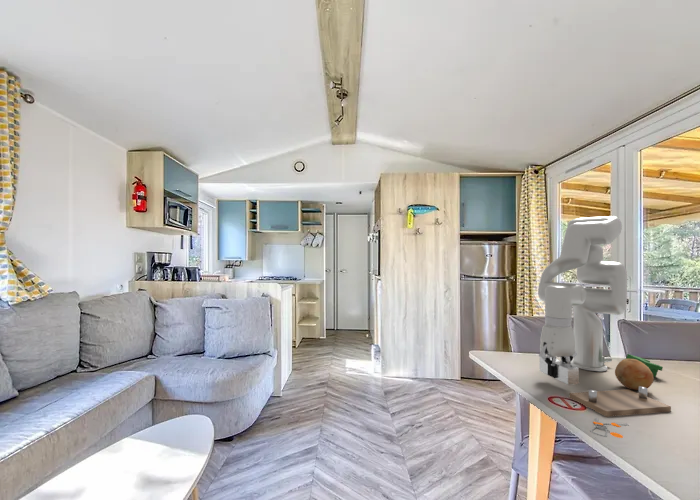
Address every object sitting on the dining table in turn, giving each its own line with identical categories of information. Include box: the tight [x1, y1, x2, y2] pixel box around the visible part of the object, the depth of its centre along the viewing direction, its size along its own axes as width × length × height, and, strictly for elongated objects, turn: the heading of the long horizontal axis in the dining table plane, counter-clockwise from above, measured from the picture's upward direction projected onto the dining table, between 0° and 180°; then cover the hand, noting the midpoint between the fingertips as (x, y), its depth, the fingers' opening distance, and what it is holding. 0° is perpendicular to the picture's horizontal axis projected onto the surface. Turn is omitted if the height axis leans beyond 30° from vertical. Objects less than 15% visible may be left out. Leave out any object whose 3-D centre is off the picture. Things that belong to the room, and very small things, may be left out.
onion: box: [614, 358, 655, 391], centre depth 110 cm, size 10×10×10 cm
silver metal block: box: [539, 355, 580, 386], centre depth 110 cm, size 4×12×5 cm, turn 11°
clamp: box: [625, 353, 664, 378], centre depth 125 cm, size 12×6×9 cm, turn 162°
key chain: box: [590, 417, 630, 439], centre depth 84 cm, size 13×7×1 cm, turn 132°
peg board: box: [569, 386, 672, 418], centre depth 98 cm, size 22×12×4 cm, turn 101°
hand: (558, 375), depth 110 cm, fingers closed on silver metal block, 4 cm apart
